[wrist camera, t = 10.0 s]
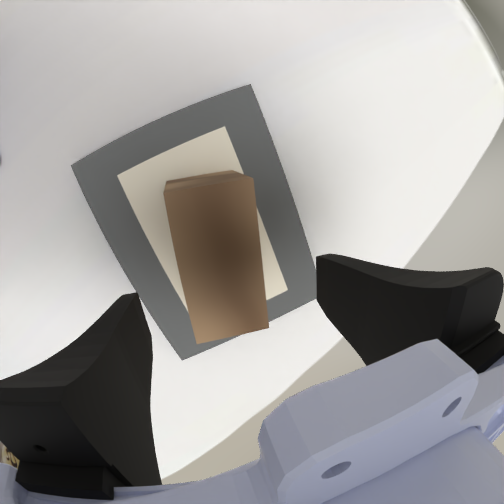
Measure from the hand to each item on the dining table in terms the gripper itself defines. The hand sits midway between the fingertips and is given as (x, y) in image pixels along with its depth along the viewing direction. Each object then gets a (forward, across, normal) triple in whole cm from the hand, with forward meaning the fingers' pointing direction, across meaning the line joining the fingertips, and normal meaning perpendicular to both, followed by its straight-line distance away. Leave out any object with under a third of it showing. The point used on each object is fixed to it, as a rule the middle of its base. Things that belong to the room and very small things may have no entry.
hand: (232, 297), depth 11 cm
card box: (+8, 0, 0) cm, 8 cm away
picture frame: (+9, 0, 0) cm, 9 cm away
